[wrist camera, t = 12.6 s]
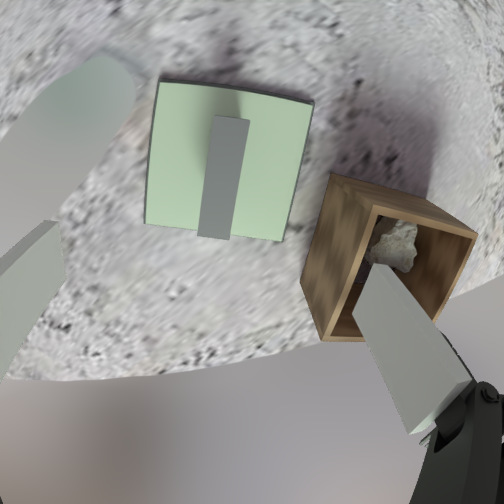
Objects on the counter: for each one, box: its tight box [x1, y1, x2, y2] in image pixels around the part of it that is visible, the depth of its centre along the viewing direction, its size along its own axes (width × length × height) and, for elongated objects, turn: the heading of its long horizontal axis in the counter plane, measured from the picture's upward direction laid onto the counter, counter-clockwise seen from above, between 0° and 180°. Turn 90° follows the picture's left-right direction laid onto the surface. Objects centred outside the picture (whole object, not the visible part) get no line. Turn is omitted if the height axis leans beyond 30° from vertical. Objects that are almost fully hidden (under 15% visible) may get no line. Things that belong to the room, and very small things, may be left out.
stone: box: [363, 216, 417, 273], centre depth 36 cm, size 8×10×6 cm
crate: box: [300, 173, 478, 342], centre depth 34 cm, size 16×16×12 cm
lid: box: [146, 82, 313, 241], centre depth 28 cm, size 17×17×9 cm
